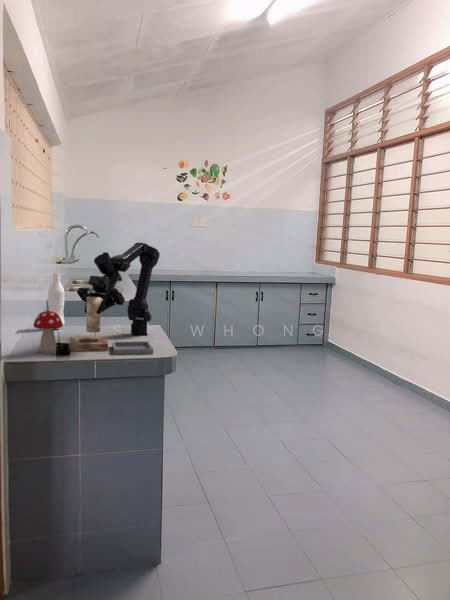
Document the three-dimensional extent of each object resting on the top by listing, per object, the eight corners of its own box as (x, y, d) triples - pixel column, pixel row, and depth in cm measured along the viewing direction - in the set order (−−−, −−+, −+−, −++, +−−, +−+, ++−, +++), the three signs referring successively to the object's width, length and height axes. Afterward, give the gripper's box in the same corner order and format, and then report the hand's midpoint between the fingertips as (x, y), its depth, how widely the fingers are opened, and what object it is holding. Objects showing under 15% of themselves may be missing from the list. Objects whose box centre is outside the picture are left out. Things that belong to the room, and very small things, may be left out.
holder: (106, 343, 200) (106, 337, 199) (107, 350, 186) (107, 344, 186) (69, 343, 196) (69, 337, 196) (68, 351, 183) (68, 344, 182)
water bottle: (67, 328, 228) (68, 274, 226) (56, 330, 222) (56, 274, 219) (55, 327, 231) (56, 273, 229) (44, 329, 225) (44, 273, 222)
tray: (148, 346, 197) (148, 341, 197) (153, 353, 184) (153, 348, 184) (112, 346, 194) (112, 341, 193) (114, 354, 180) (114, 349, 180)
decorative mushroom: (64, 349, 185) (64, 309, 183) (60, 354, 176) (60, 312, 175) (36, 349, 183) (36, 309, 182) (30, 354, 175) (30, 312, 173)
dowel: (99, 329, 193) (99, 296, 191) (100, 332, 188) (101, 298, 187) (86, 330, 191) (86, 296, 190) (86, 332, 186) (87, 297, 185)
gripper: (79, 266, 194) (60, 297, 185) (121, 269, 187) (103, 301, 178) (91, 285, 202) (74, 316, 193) (131, 288, 196) (115, 320, 186)
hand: (91, 313), depth 187 cm, fingers closed on dowel, 5 cm apart
